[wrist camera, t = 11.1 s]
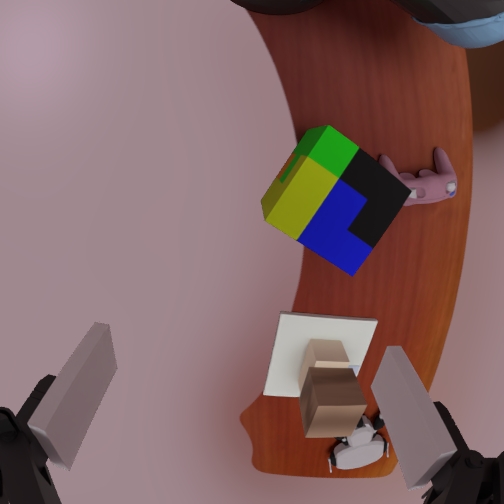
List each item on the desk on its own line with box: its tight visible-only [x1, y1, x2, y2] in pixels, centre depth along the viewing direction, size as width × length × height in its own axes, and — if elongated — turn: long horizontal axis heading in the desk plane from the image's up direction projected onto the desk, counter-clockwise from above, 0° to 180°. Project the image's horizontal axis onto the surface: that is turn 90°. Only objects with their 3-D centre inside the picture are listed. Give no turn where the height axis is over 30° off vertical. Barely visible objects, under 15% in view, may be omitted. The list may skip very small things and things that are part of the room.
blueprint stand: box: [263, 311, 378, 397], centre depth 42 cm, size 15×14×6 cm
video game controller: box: [379, 147, 457, 206], centre depth 33 cm, size 10×5×7 cm, turn 103°
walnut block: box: [299, 367, 367, 438], centre depth 36 cm, size 6×6×7 cm
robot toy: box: [328, 413, 389, 472], centre depth 50 cm, size 12×4×15 cm
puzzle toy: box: [261, 125, 412, 277], centre depth 32 cm, size 10×10×10 cm
